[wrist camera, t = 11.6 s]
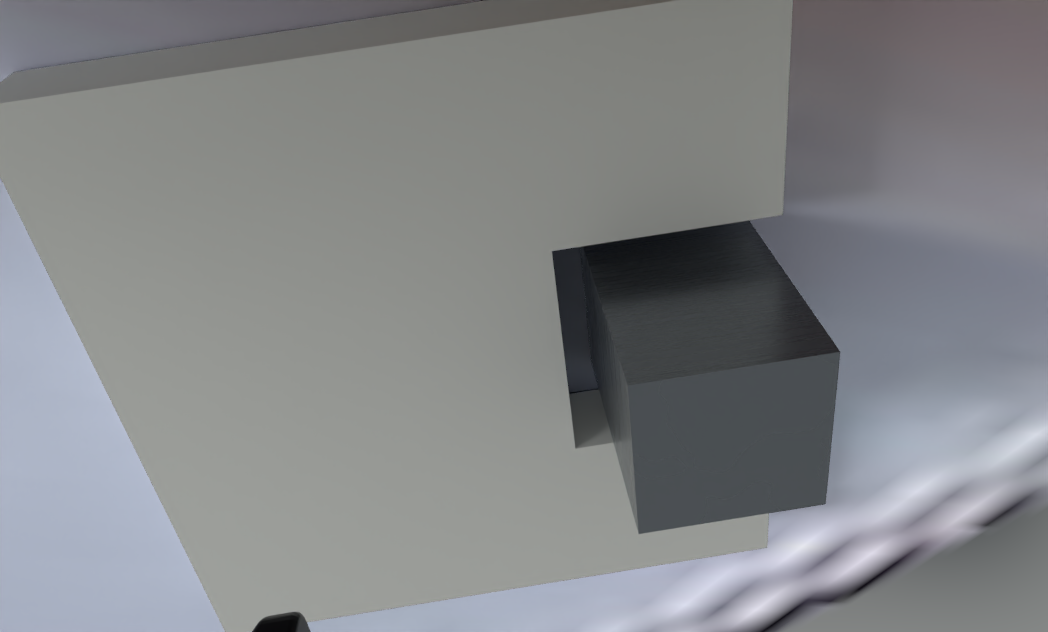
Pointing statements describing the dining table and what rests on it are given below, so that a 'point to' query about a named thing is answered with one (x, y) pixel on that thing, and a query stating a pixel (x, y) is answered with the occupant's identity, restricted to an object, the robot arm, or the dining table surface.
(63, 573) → the dining table surface
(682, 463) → the steel block
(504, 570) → the notched board
